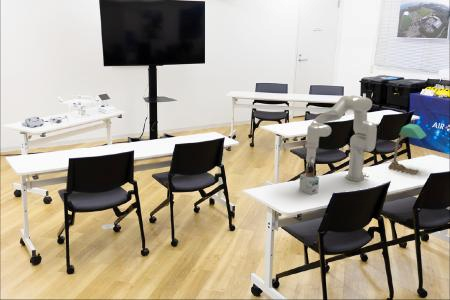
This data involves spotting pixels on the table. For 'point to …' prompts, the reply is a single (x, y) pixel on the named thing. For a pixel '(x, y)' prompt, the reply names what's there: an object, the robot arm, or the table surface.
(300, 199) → the table surface
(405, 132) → the banker's lamp
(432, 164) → the table surface
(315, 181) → the light bulb box
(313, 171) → the walnut block
